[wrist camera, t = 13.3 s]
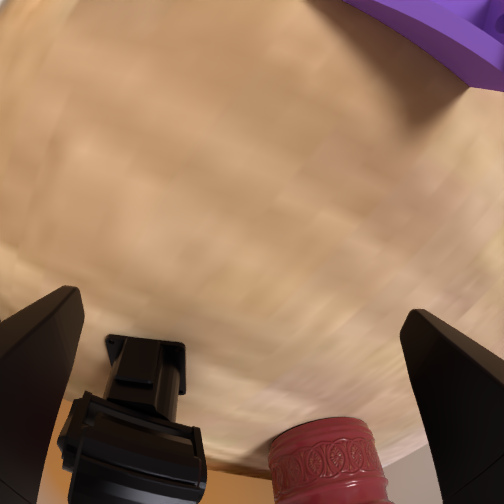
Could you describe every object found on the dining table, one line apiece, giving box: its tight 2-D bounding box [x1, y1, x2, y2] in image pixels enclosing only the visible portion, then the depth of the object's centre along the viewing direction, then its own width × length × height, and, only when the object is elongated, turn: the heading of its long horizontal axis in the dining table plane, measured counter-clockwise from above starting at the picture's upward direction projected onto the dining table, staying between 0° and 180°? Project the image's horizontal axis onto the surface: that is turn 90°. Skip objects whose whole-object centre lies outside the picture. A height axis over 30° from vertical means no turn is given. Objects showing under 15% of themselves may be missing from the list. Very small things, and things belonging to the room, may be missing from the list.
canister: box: [268, 417, 394, 504], centre depth 26 cm, size 13×13×18 cm
